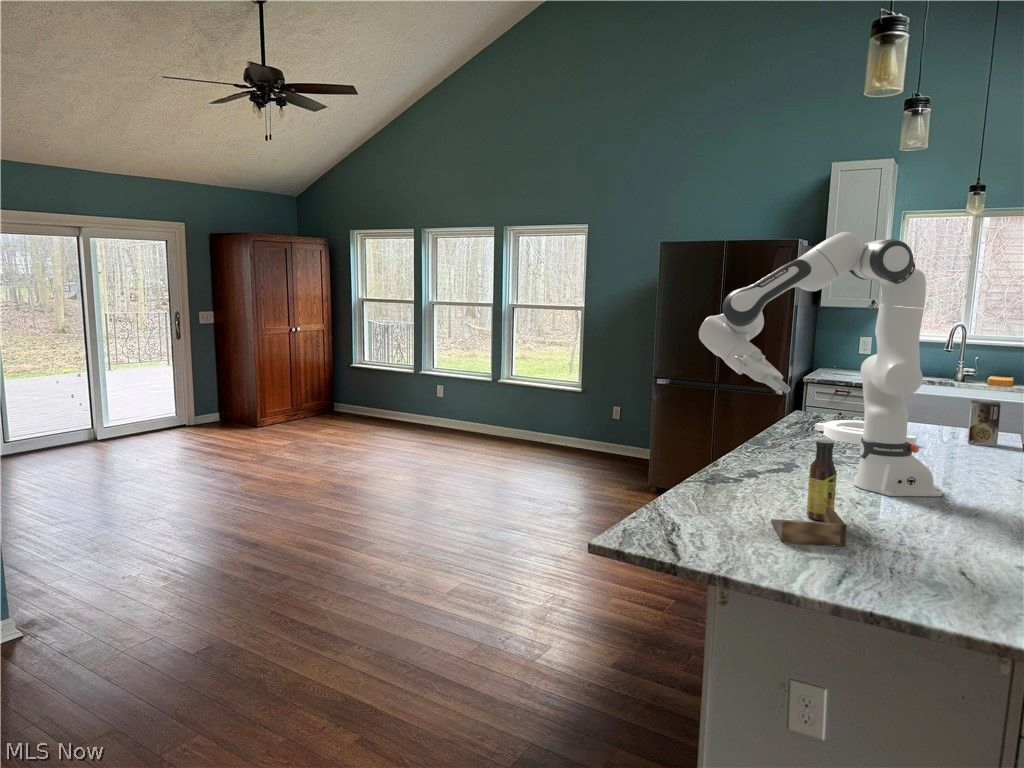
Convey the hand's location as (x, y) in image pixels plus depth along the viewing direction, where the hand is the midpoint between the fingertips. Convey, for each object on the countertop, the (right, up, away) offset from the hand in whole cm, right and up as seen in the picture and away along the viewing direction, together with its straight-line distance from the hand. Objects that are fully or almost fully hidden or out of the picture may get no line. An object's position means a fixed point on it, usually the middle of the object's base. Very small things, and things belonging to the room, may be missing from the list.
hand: (783, 390), depth 183 cm
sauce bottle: (+4, -33, -12) cm, 35 cm away
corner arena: (-4, -34, -23) cm, 41 cm away
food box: (+103, -21, +69) cm, 126 cm away
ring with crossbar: (+63, -20, +79) cm, 102 cm away
